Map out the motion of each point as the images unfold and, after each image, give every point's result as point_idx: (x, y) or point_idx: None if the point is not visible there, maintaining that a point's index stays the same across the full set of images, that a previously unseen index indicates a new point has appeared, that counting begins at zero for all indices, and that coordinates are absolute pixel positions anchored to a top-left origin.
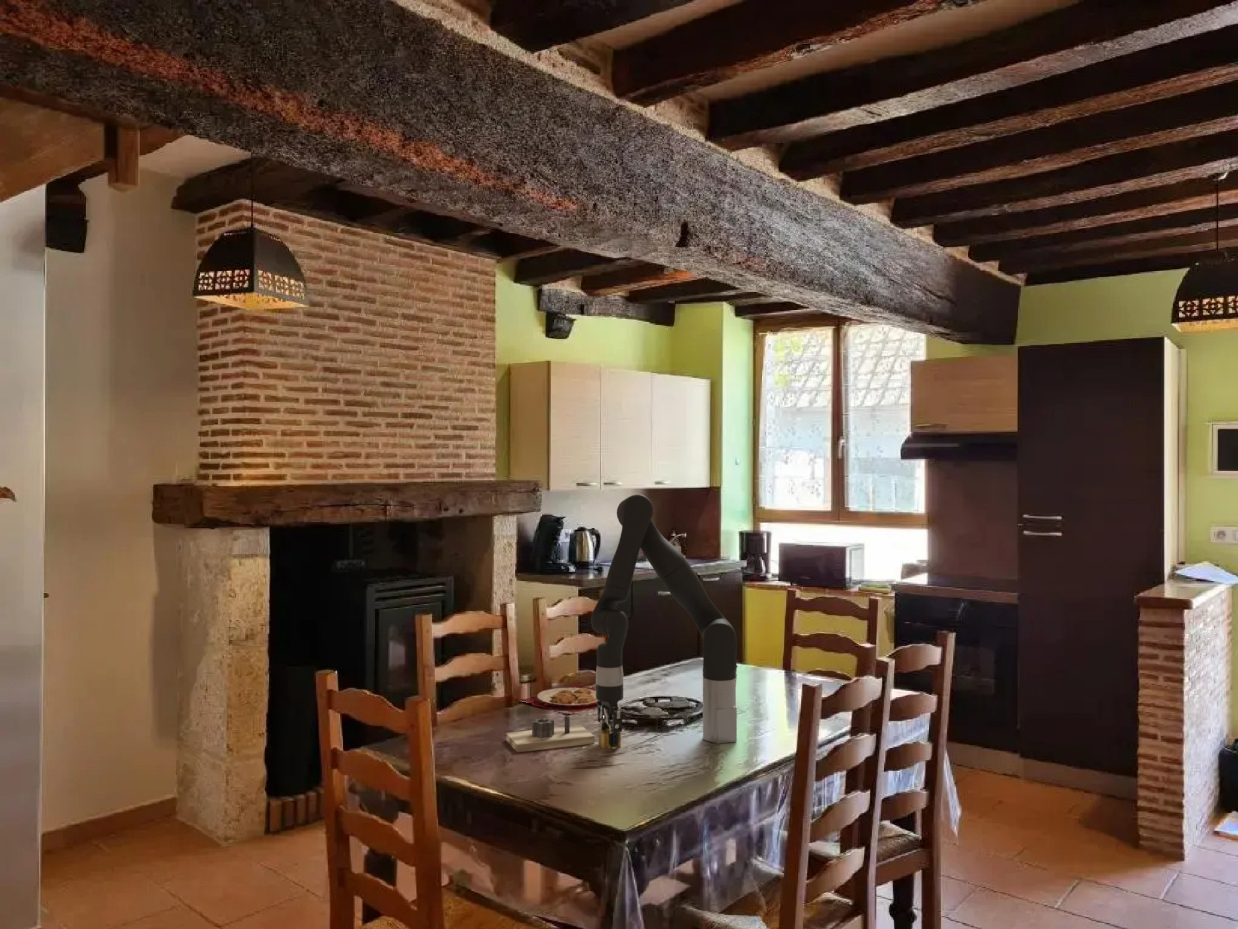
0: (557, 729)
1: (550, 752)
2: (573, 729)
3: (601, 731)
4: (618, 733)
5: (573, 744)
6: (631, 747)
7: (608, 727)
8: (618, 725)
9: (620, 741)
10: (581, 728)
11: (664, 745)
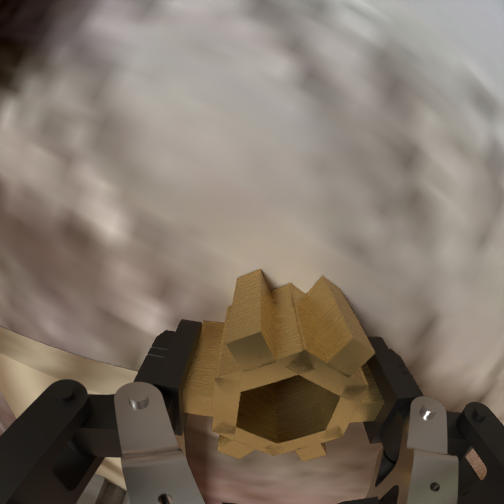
0: None
1: (230, 498)
2: None
3: (247, 449)
4: (357, 360)
5: (184, 454)
6: (384, 221)
7: (181, 393)
8: (445, 446)
9: (351, 309)
10: (23, 376)
11: (434, 18)
